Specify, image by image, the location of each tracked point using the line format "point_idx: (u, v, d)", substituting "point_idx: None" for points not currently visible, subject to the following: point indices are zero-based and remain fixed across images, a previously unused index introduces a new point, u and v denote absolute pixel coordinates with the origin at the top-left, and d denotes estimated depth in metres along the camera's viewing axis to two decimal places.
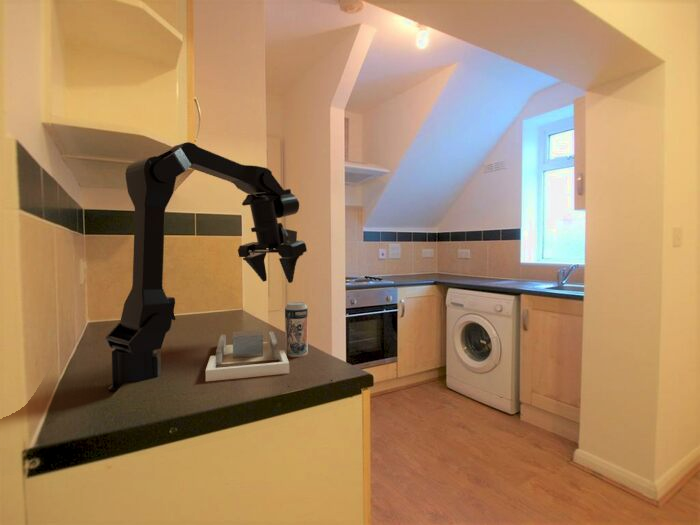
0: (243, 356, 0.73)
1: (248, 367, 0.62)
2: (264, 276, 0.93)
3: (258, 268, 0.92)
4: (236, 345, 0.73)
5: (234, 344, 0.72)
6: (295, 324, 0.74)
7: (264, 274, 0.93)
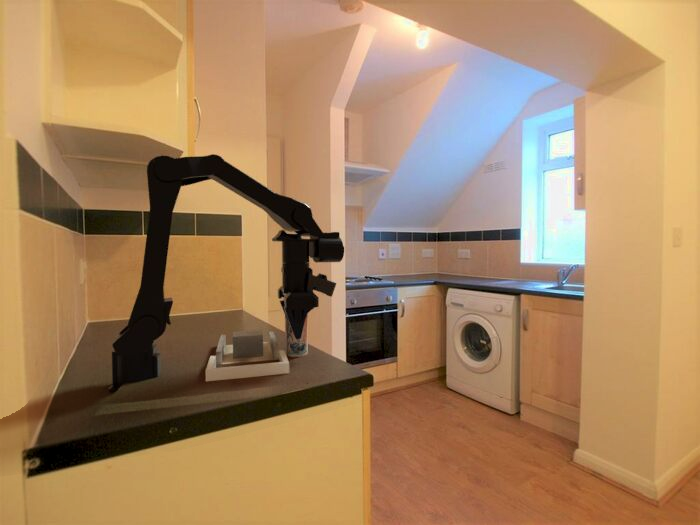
0: (243, 356, 0.73)
1: (248, 367, 0.62)
2: None
3: None
4: (236, 345, 0.73)
5: (234, 344, 0.72)
6: None
7: None
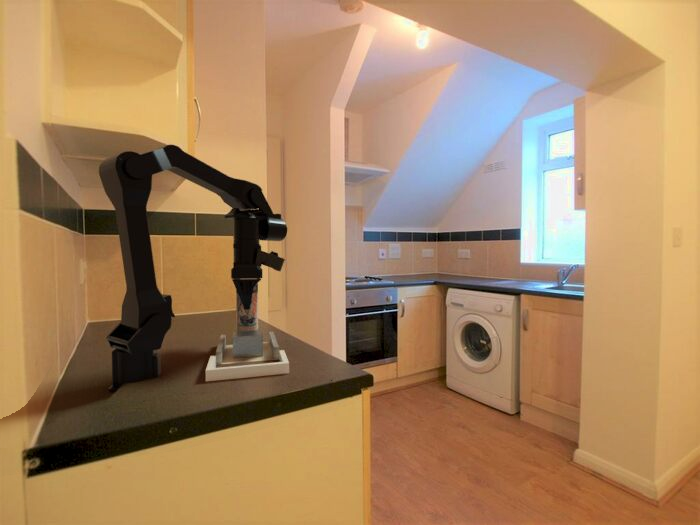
0: (243, 356, 0.73)
1: (248, 367, 0.62)
2: None
3: None
4: (236, 345, 0.73)
5: (234, 344, 0.72)
6: None
7: None
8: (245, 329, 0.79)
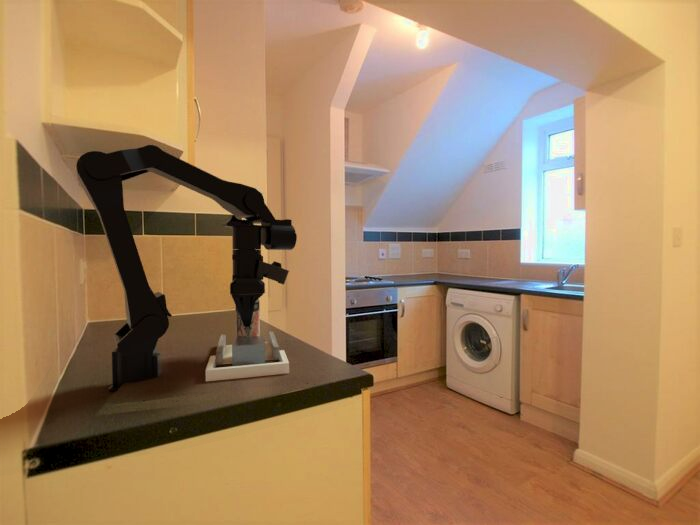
0: None
1: (248, 367, 0.62)
2: None
3: None
4: (236, 355, 0.67)
5: (234, 354, 0.66)
6: None
7: None
8: None
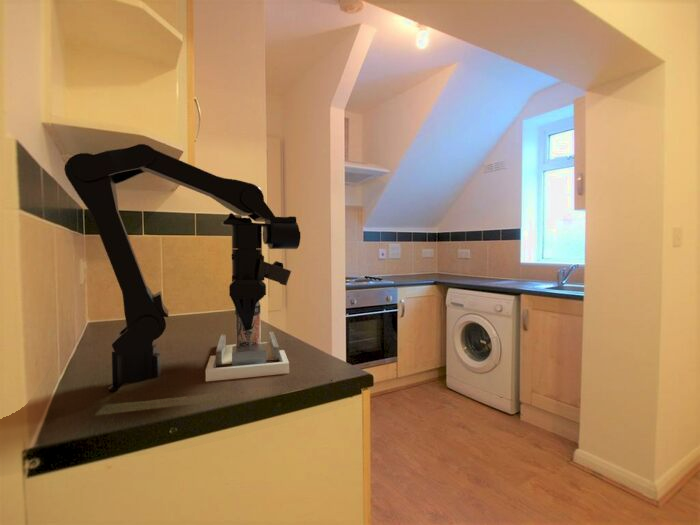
0: None
1: (248, 367, 0.62)
2: None
3: None
4: (236, 362, 0.63)
5: (234, 361, 0.63)
6: None
7: None
8: None
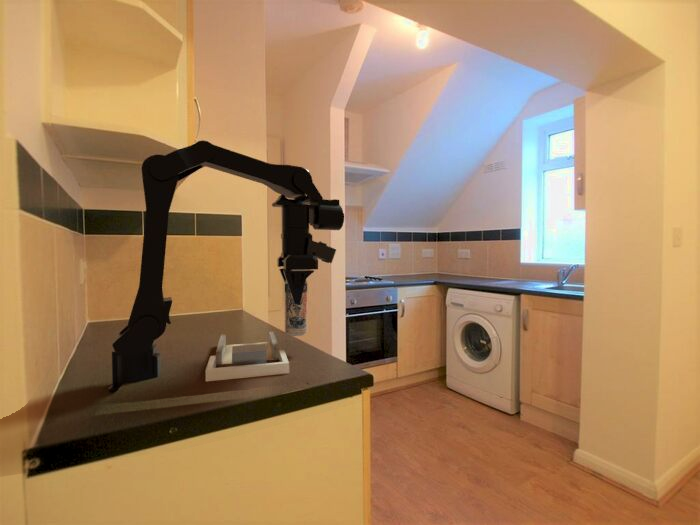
0: None
1: (248, 367, 0.62)
2: None
3: None
4: (236, 362, 0.63)
5: (234, 361, 0.63)
6: None
7: None
8: (295, 331, 0.74)
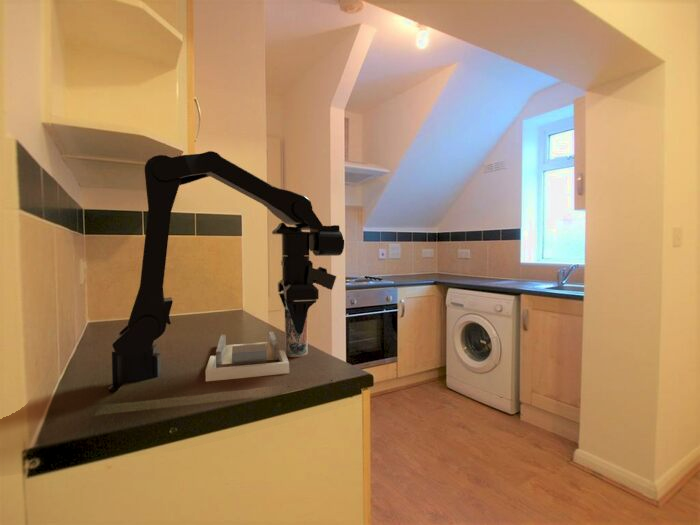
0: None
1: (248, 367, 0.62)
2: None
3: None
4: (236, 362, 0.63)
5: (234, 361, 0.63)
6: None
7: None
8: None
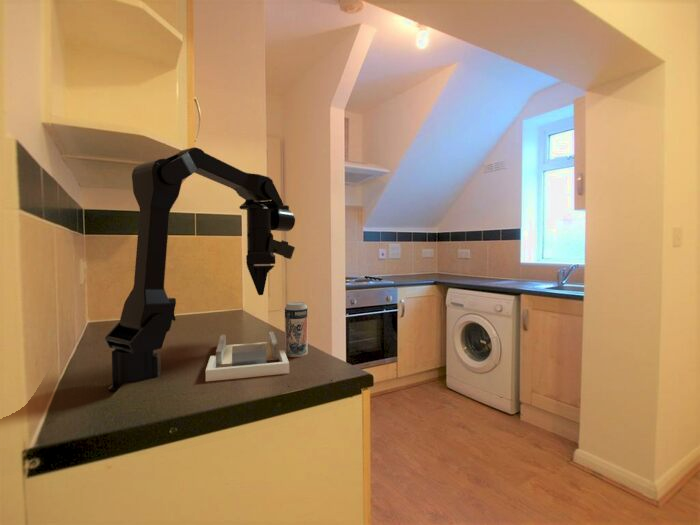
0: None
1: (248, 367, 0.62)
2: None
3: None
4: (236, 362, 0.63)
5: (234, 361, 0.63)
6: (294, 324, 0.74)
7: None
8: None
